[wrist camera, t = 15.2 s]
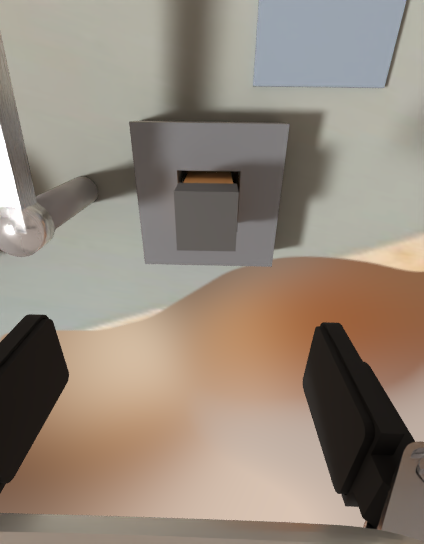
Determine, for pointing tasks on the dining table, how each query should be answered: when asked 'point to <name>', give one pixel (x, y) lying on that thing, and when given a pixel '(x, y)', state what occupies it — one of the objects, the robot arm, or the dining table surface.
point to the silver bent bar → (17, 181)
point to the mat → (326, 42)
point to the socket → (168, 173)
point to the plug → (206, 212)
